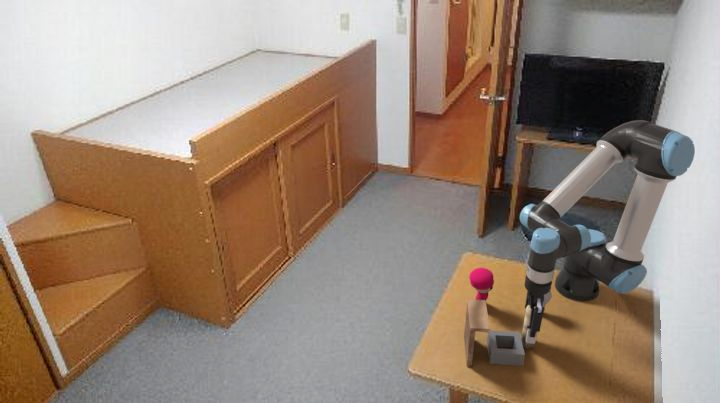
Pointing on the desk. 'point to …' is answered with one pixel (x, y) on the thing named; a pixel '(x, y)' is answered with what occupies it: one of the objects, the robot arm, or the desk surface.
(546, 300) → the lightbulb
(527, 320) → the peg
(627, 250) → the robot arm
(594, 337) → the desk surface
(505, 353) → the socket
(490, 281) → the toy
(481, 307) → the wooden lipped block
